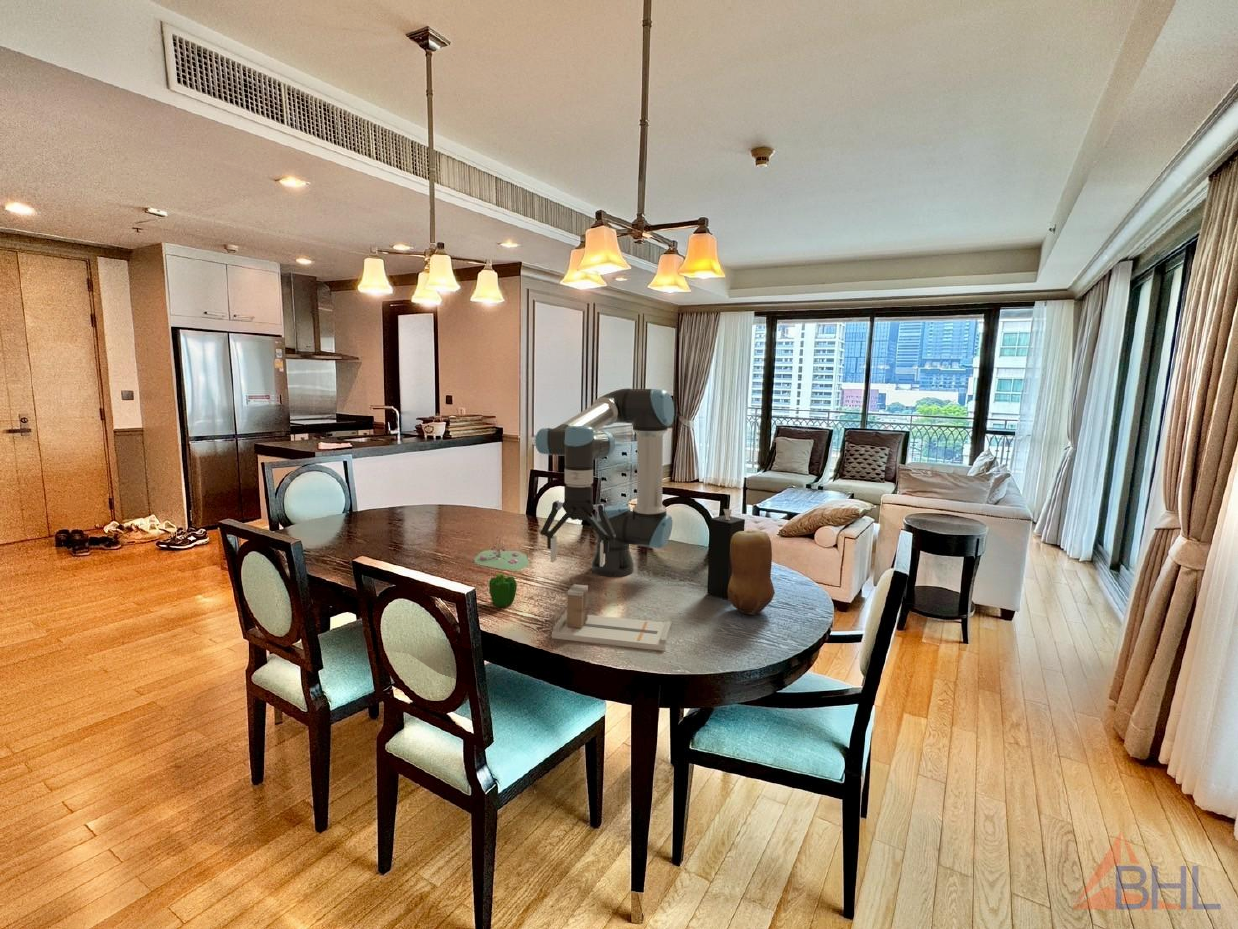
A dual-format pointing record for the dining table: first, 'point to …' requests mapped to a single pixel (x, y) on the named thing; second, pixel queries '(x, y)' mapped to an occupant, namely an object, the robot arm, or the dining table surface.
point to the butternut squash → (750, 571)
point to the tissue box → (721, 552)
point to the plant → (502, 559)
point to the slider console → (616, 632)
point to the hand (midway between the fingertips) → (577, 563)
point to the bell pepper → (502, 590)
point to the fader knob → (577, 606)
